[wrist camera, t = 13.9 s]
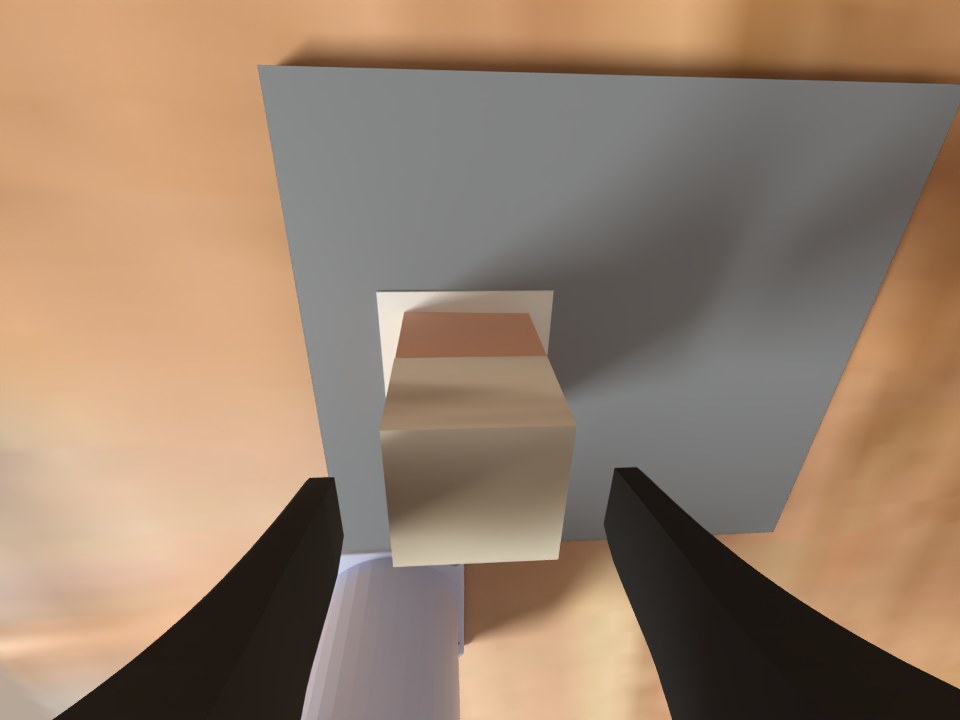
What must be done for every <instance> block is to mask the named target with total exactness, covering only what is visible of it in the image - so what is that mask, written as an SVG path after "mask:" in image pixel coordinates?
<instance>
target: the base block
mask: <svg viewBox="0 0 960 720" xmlns="http://www.w3.org/2000/svg"><path fill="white" fill-rule="evenodd" d="M504 356H547V355H546V352H545V350H544V348H543V345H542V343H541V341H540V338H539V336H538V334H537V331H536V329H535V327H534V324H533V322H532V320H531V317H530V315H529V313H456V312H404V315H403V320H402V325H401V330H400V335H399V341H398V346H397V351H396V356H395V358H440V357H504Z"/></svg>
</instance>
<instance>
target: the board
mask: <svg viewBox="0 0 960 720" xmlns="http://www.w3.org/2000/svg"><path fill="white" fill-rule="evenodd" d="M257 66H258V72H259V77H260V83H261V89H262V95H263V101H264V106H265V112H266V118H267V124H268V130H269V135H270V141H271V147H272V153H273V158H274V164H275V170H276V176H277V182H278V187H279V193H280V199H281V205H282V211H283V216H284V222H285V228H286V234H287V239H288V245H289V251H290V257H291V263H292V268H293V274H294V280H295V286H296V292H297V297H298V303H299V309H300V315H301V321H302V326H303V332H304V338H305V344H306V349H307V355H308V361H309V367H310V373H311V378H312V384H313V390H314V396H315V402H316V407H317V413H318V419H319V425H320V430H321V436H322V442H323V448H324V454H325V459H326V465H327V471H328V477H334V478H335V484H336V490H337V496H338V502H339V508H340V514H341V520H342V526H343V533H344V539H343V545H342V551H348V550H371V549H391V541H390V531H389V521H388V511H387V501H386V491H385V481H384V471H383V461H382V451H381V441H380V432H379V430H380V426H381V421H382V416H383V411H384V406H385V401H386V396H387V391H388V386H389V381H390V376H391V371H392V366H393V361H394V358H395V356H396V351H397V346H398V341H399V335H400V330H401V325H402V320H403V315H404V312H456V313H529V315H530V317H531V320H532V322H533V324H534V327H535V329H536V331H537V334H538V336H539V338H540V341H541V343H542V345H543V348H544V350H545V352H546V355H547V357H548V359H549V362H550V364H551V366H552V369H553V371H554V373H555V376H556V378H557V380H558V383H559V385H560V387H561V390H562V392H563V394H564V397H565V399H566V401H567V404H568V406H569V408H570V411H571V413H572V415H573V418H574V420H575V422H576V425H577V429H576V436H575V443H574V450H573V457H572V464H571V471H570V478H569V486H568V493H567V500H566V507H565V514H564V521H563V528H562V535H561V541H577V540H600V539H607V536H606V532H605V529H604V525H603V524H604V519H605V514H606V509H607V504H608V499H609V494H610V488H611V483H612V478H613V473H614V468H625V467H638V468H639V469H640V470H641V471H642V472H643V473H644V474H645V475H646V476H648V477H649V478H650V479H651V480H652V481H653V482H654V483H655V484H656V485H657V486H658V487H659V488H660V489H661V490H662V491H664V492H665V493H666V494H667V495H668V496H669V497H670V498H671V499H672V500H673V501H674V502H675V503H676V504H678V505H679V506H680V507H681V508H682V509H683V510H684V511H685V512H686V513H687V514H689V515H690V516H691V517H692V518H693V519H694V520H695V521H696V522H698V523H699V524H700V525H701V526H702V527H703V528H704V529H706V530H707V531H708V532H709V533H710V534H711V535H715V534H738V533H761V532H773V531H774V529H775V527H776V524H777V522H778V520H779V517H780V515H781V513H782V511H783V508H784V506H785V504H786V501H787V499H788V497H789V495H790V492H791V490H792V488H793V485H794V483H795V481H796V478H797V476H798V474H799V472H800V469H801V467H802V465H803V462H804V460H805V458H806V456H807V453H808V451H809V449H810V446H811V444H812V442H813V440H814V437H815V435H816V433H817V430H818V428H819V426H820V424H821V421H822V419H823V417H824V414H825V412H826V410H827V408H828V405H829V403H830V401H831V398H832V396H833V394H834V392H835V389H836V387H837V385H838V382H839V380H840V378H841V375H842V373H843V371H844V369H845V366H846V364H847V362H848V359H849V357H850V355H851V353H852V350H853V348H854V346H855V343H856V341H857V339H858V337H859V334H860V332H861V330H862V327H863V325H864V323H865V321H866V318H867V316H868V314H869V311H870V309H871V307H872V305H873V302H874V300H875V298H876V295H877V293H878V291H879V288H880V286H881V284H882V282H883V279H884V277H885V275H886V272H887V270H888V268H889V266H890V263H891V261H892V259H893V256H894V254H895V252H896V250H897V247H898V245H899V243H900V240H901V238H902V236H903V234H904V231H905V229H906V227H907V224H908V222H909V220H910V218H911V215H912V213H913V211H914V208H915V206H916V204H917V202H918V199H919V197H920V195H921V192H922V190H923V188H924V185H925V183H926V181H927V179H928V176H929V174H930V172H931V169H932V167H933V165H934V163H935V160H936V158H937V156H938V153H939V151H940V149H941V147H942V144H943V142H944V140H945V137H946V135H947V133H948V131H949V128H950V126H951V124H952V121H953V119H954V117H955V115H956V112H957V110H958V108H959V105H960V84H926V83H890V82H854V81H818V80H782V79H745V78H709V77H673V76H637V75H601V74H565V73H528V72H492V71H456V70H420V69H384V68H348V67H312V66H275V65H257Z"/></svg>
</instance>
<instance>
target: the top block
mask: <svg viewBox="0 0 960 720" xmlns="http://www.w3.org/2000/svg"><path fill="white" fill-rule="evenodd" d="M576 429H577V425H576V422H575V420H574V418H573V415H572V413H571V411H570V408H569V406H568V404H567V401H566V399H565V397H564V394H563V392H562V390H561V387H560V385H559V383H558V380H557V378H556V376H555V373H554V371H553V369H552V366H551V364H550V362H549V359H548V357H547V356H504V357H440V358H394V361H393V366H392V371H391V376H390V381H389V386H388V391H387V396H386V401H385V406H384V411H383V416H382V421H381V426H380V430H379V432H380V441H381V451H382V461H383V471H384V481H385V491H386V501H387V511H388V521H389V531H390V541H391V551H392V561H393V567H406V566H427V565H449V564H470V563H492V562H514V561H535V560H557V559H558V557H559V550H560V542H561V535H562V528H563V521H564V514H565V507H566V500H567V493H568V486H569V478H570V471H571V464H572V457H573V450H574V443H575V436H576Z"/></svg>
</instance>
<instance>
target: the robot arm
mask: <svg viewBox="0 0 960 720" xmlns="http://www.w3.org/2000/svg"><path fill="white" fill-rule="evenodd" d="M603 525H604V529H605V532H606V536H607V540H608V544H609V547H610V551H611V554H612V558H613V561H614V564H615V567H616V569H617V572H618V574H619V577H620V579H621V582H622V584H623V587H624V589H625V592H626V594H627V596H628V599H629V601H630V604H631V606H632V608H633V611H634V613H635V616H636V618H637V621H638V623H639V625H640V628H641V630H642V633H643V635H644V638H645V640H646V642H647V645H648V647H649V650H650V652H651V655H652V658H653V661H654V663H655V666H656V669H657V672H658V675H659V678H660V682H661V685H662V688H663V691H664V694H665V698H666V701H667V704H668V707H669V711H670V714H671V717H672V720H960V689H958V688H956V687H954V686H952V685H950V684H948V683H946V682H944V681H942V680H940V679H938V678H936V677H934V676H932V675H930V674H928V673H926V672H924V671H922V670H920V669H918V668H916V667H914V666H912V665H910V664H908V663H906V662H904V661H902V660H900V659H899V658H897V657H895V656H893V655H891V654H889V653H888V652H886V651H884V650H882V649H880V648H879V647H877V646H875V645H873V644H871V643H870V642H868V641H866V640H864V639H862V638H861V637H859V636H857V635H855V634H854V633H852V632H850V631H849V630H847V629H845V628H843V627H842V626H840V625H838V624H837V623H835V622H833V621H832V620H830V619H829V618H827V617H825V616H824V615H822V614H821V613H819V612H817V611H816V610H814V609H813V608H811V607H810V606H808V605H806V604H805V603H803V602H802V601H800V600H799V599H797V598H796V597H794V596H793V595H791V594H790V593H788V592H787V591H785V590H784V589H782V588H781V587H779V586H778V585H777V584H775V583H774V582H772V581H771V580H770V579H768V578H767V577H765V576H764V575H763V574H761V573H760V572H758V571H757V570H756V569H754V568H753V567H752V566H750V565H749V564H748V563H746V562H745V561H744V560H742V559H741V558H740V557H738V556H737V555H736V554H735V553H734V552H732V551H731V550H730V549H729V548H727V547H726V546H725V545H724V544H722V543H721V542H720V541H719V540H717V539H716V538H715V537H714V536H713V535H711V534H710V533H709V532H708V531H707V530H706V529H704V528H703V527H702V526H701V525H700V524H699V523H698V522H696V521H695V520H694V519H693V518H692V517H691V516H690V515H689V514H687V513H686V512H685V511H684V510H683V509H682V508H681V507H680V506H679V505H678V504H676V503H675V502H674V501H673V500H672V499H671V498H670V497H669V496H668V495H667V494H666V493H665V492H664V491H662V490H661V489H660V488H659V487H658V486H657V485H656V484H655V483H654V482H653V481H652V480H651V479H650V478H649V477H648V476H646V475H645V474H644V473H643V472H642V471H641V470H640V469H639V468H638V467H625V468H614V473H613V478H612V483H611V488H610V494H609V499H608V504H607V509H606V514H605V519H604V524H603ZM343 539H344V533H343V526H342V520H341V514H340V508H339V502H338V496H337V490H336V484H335V478H334V477H323V478H309V479H308V480H307V481H306V482H305V483H304V485H303V486H302V487H301V488H300V490H299V491H298V492H297V493H296V495H295V496H294V497H293V499H292V500H291V501H290V502H289V504H288V505H287V506H286V507H285V509H284V510H283V511H282V512H281V514H280V515H279V516H278V517H277V518H276V520H275V521H274V522H273V523H272V524H271V526H270V527H269V528H268V529H267V530H266V531H265V533H264V534H263V535H262V536H261V537H260V538H259V540H258V541H257V542H256V543H255V544H254V545H253V547H252V548H251V549H250V550H249V551H248V552H247V553H246V554H245V555H244V556H243V558H242V559H241V560H240V561H239V562H238V563H237V564H236V565H235V566H234V567H233V568H232V569H231V570H230V571H229V572H228V574H227V575H226V576H225V577H224V578H223V579H222V580H221V581H220V582H219V583H218V584H217V585H216V586H215V587H214V588H213V589H212V590H211V591H210V592H209V593H208V594H207V595H206V596H205V597H204V598H203V599H202V600H201V601H200V602H198V603H197V604H196V605H195V606H194V607H193V608H192V609H191V610H190V611H189V612H188V613H187V614H186V615H185V616H183V617H182V618H181V619H180V620H179V621H178V622H177V623H176V624H174V625H173V626H172V627H171V628H170V629H169V630H167V631H166V632H165V633H164V634H163V635H162V636H161V637H159V638H158V639H157V640H156V641H155V642H154V643H152V644H151V645H150V646H149V647H148V648H146V649H145V650H144V651H143V652H142V653H140V654H139V655H138V656H137V657H136V658H134V659H133V660H132V661H131V662H129V663H128V664H127V665H126V666H124V667H123V668H122V669H120V670H119V671H118V672H117V673H115V674H114V675H113V676H111V677H110V678H109V679H107V680H106V681H105V682H103V683H102V684H101V685H100V686H98V687H97V688H96V689H94V690H93V691H92V692H90V693H89V694H87V695H86V696H85V697H83V698H82V699H81V700H79V701H78V702H77V703H75V704H74V705H73V706H71V707H70V708H68V709H67V710H66V711H64V712H63V713H61V714H60V715H58V716H57V717H56V718H54V719H53V720H460V697H459V660H458V657H460V656H461V655H462V654H463V653H464V564H449V565H427V566H406V567H393V561H392V551H391V549H371V550H348V551H342V545H343Z"/></svg>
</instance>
